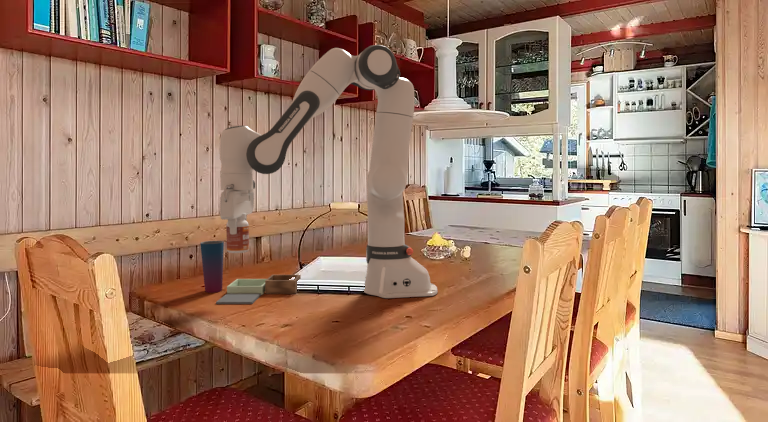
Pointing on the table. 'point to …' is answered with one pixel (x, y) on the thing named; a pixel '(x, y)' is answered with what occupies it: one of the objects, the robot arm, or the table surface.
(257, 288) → the rim tray
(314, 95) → the robot arm
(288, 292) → the crate
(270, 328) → the table surface
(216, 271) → the cup
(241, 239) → the pill bottle
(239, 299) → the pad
